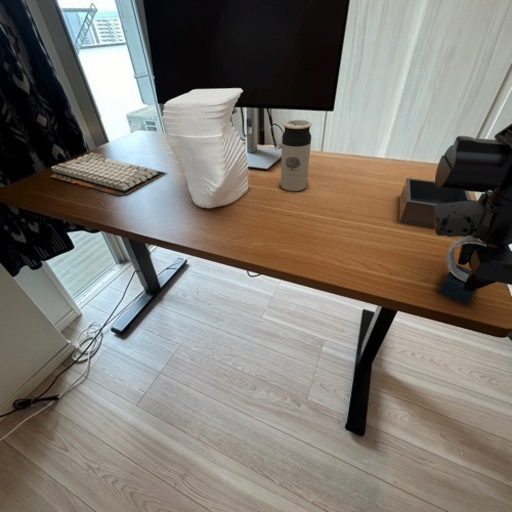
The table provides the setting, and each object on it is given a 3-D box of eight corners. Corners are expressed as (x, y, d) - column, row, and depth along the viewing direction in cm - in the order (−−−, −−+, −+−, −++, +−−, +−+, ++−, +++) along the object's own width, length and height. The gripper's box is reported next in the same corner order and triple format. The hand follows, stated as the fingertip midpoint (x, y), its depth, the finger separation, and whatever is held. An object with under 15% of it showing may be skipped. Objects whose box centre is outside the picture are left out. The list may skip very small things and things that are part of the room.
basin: (455, 205, 71) (465, 185, 68) (463, 233, 62) (476, 211, 58) (399, 197, 76) (406, 177, 72) (399, 222, 66) (407, 201, 62)
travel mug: (287, 178, 87) (290, 118, 76) (310, 183, 84) (317, 121, 72) (276, 188, 82) (277, 125, 71) (299, 194, 79) (304, 128, 67)
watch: (479, 309, 45) (517, 260, 38) (427, 288, 49) (453, 240, 42) (485, 290, 48) (521, 241, 41) (436, 271, 53) (461, 224, 46)
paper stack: (259, 180, 87) (257, 88, 70) (226, 225, 67) (211, 112, 51) (201, 174, 92) (186, 86, 76) (155, 213, 73) (121, 108, 57)
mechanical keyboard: (166, 173, 94) (163, 164, 91) (123, 198, 81) (119, 187, 79) (93, 159, 107) (90, 150, 105) (47, 178, 95) (42, 168, 93)
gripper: (444, 163, 46) (411, 237, 56) (460, 217, 33) (414, 301, 43) (524, 172, 42) (474, 249, 52) (578, 237, 29) (498, 323, 39)
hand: (463, 276), depth 47 cm, fingers closed on watch, 6 cm apart
